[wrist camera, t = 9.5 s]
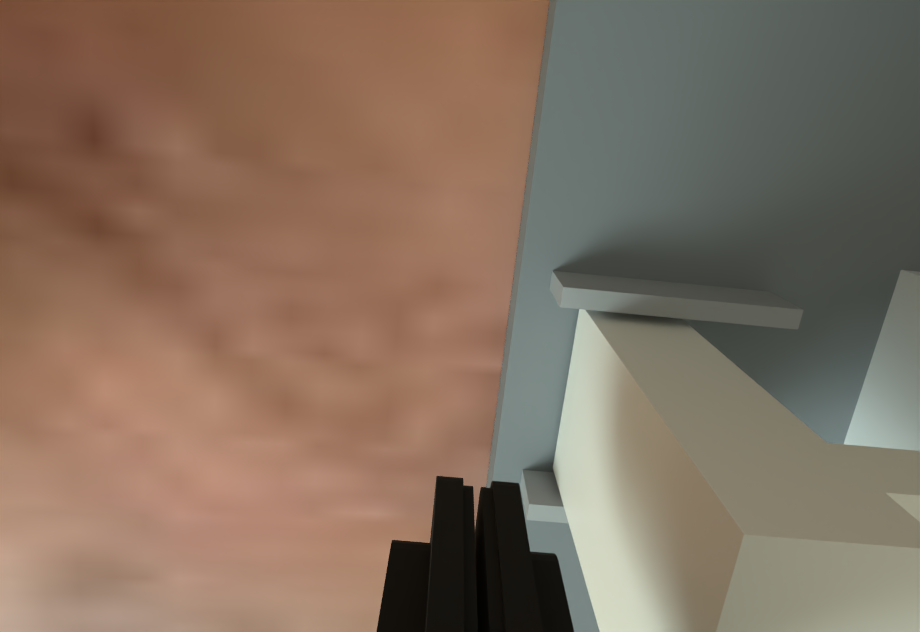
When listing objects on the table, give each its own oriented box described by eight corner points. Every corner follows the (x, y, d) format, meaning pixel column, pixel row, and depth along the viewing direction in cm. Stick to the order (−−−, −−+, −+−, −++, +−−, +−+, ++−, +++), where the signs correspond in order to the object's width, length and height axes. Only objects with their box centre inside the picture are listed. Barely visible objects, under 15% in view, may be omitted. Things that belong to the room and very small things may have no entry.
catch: (552, 467, 21) (657, 833, 10) (580, 303, 19) (744, 534, 8) (735, 483, 21) (1028, 856, 10) (780, 321, 19) (1191, 570, 9)
